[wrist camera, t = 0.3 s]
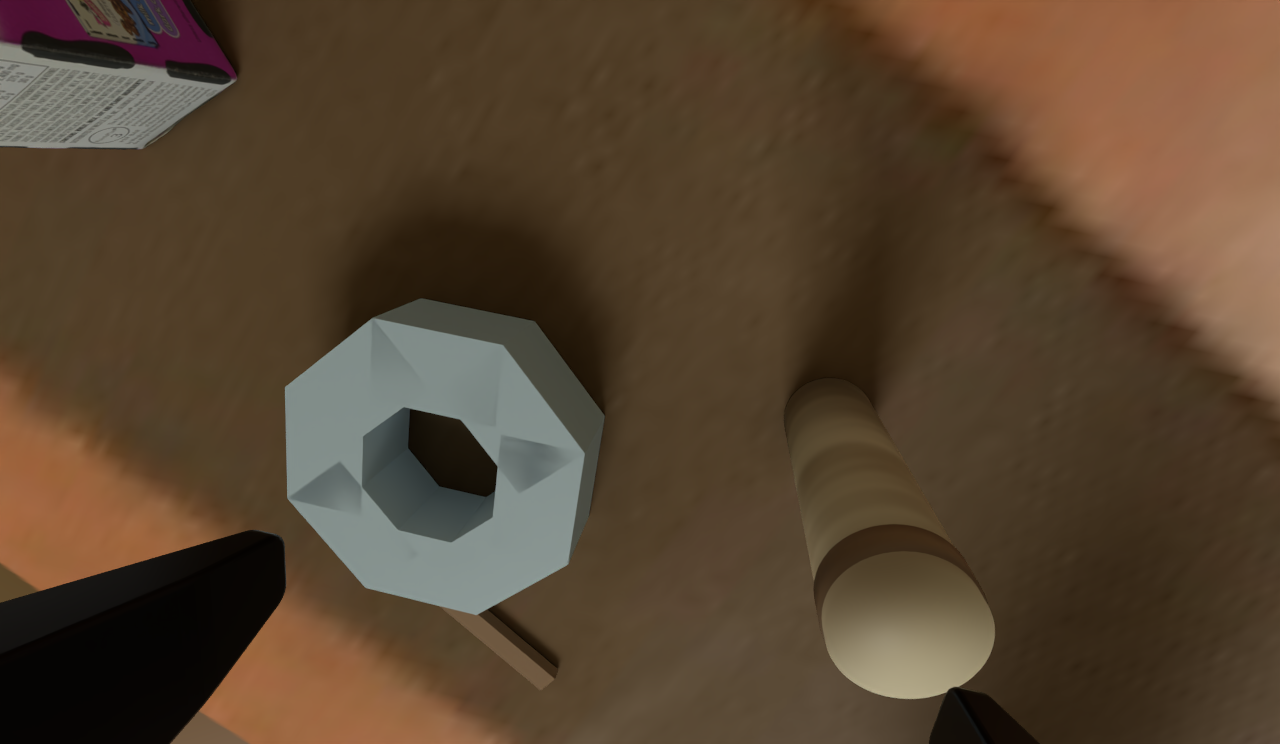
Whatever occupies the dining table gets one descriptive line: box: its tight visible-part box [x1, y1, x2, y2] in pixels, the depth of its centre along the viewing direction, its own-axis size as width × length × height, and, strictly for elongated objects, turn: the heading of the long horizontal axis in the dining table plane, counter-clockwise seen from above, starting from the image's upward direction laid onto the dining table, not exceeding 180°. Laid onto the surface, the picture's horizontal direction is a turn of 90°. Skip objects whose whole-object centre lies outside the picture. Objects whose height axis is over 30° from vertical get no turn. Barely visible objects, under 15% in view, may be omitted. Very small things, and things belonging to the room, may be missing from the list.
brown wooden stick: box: [440, 606, 558, 690], centre depth 24 cm, size 12×1×1 cm, turn 48°
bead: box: [285, 298, 605, 615], centre depth 21 cm, size 10×10×3 cm
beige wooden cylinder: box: [784, 378, 995, 699], centre depth 16 cm, size 3×3×10 cm
